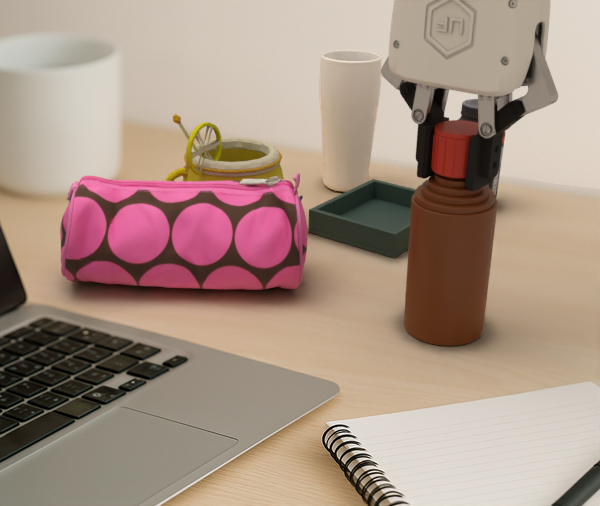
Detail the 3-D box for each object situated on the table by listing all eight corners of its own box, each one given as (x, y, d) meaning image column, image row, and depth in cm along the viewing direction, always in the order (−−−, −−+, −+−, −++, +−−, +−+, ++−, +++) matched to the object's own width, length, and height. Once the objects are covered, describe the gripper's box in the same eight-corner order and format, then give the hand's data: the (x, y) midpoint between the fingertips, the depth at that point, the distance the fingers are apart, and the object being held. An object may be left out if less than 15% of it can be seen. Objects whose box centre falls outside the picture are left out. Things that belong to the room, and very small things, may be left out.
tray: (371, 199, 93) (373, 178, 92) (453, 221, 88) (455, 198, 87) (308, 232, 85) (308, 209, 84) (393, 258, 79) (395, 234, 78)
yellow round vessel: (267, 200, 93) (266, 93, 87) (300, 237, 84) (302, 120, 78) (153, 213, 89) (145, 101, 83) (175, 253, 80) (168, 130, 74)
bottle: (427, 299, 71) (441, 117, 64) (496, 321, 68) (519, 131, 60) (389, 330, 67) (399, 137, 59) (460, 354, 64) (481, 154, 56)
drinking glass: (379, 180, 99) (388, 52, 92) (366, 198, 94) (374, 63, 87) (325, 173, 101) (329, 47, 94) (309, 191, 95) (312, 58, 88)
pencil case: (303, 257, 79) (305, 156, 75) (308, 305, 71) (310, 194, 66) (77, 258, 78) (65, 155, 74) (54, 306, 70) (39, 193, 65)
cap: (430, 177, 60) (433, 134, 58) (431, 160, 63) (434, 119, 62) (484, 180, 59) (488, 136, 58) (482, 162, 63) (486, 121, 61)
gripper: (343, -97, 55) (335, 168, 63) (583, -87, 46) (536, 222, 54) (405, -100, 60) (390, 146, 69) (632, -91, 51) (582, 191, 59)
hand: (455, 177), depth 61 cm, fingers closed on cap, 3 cm apart
